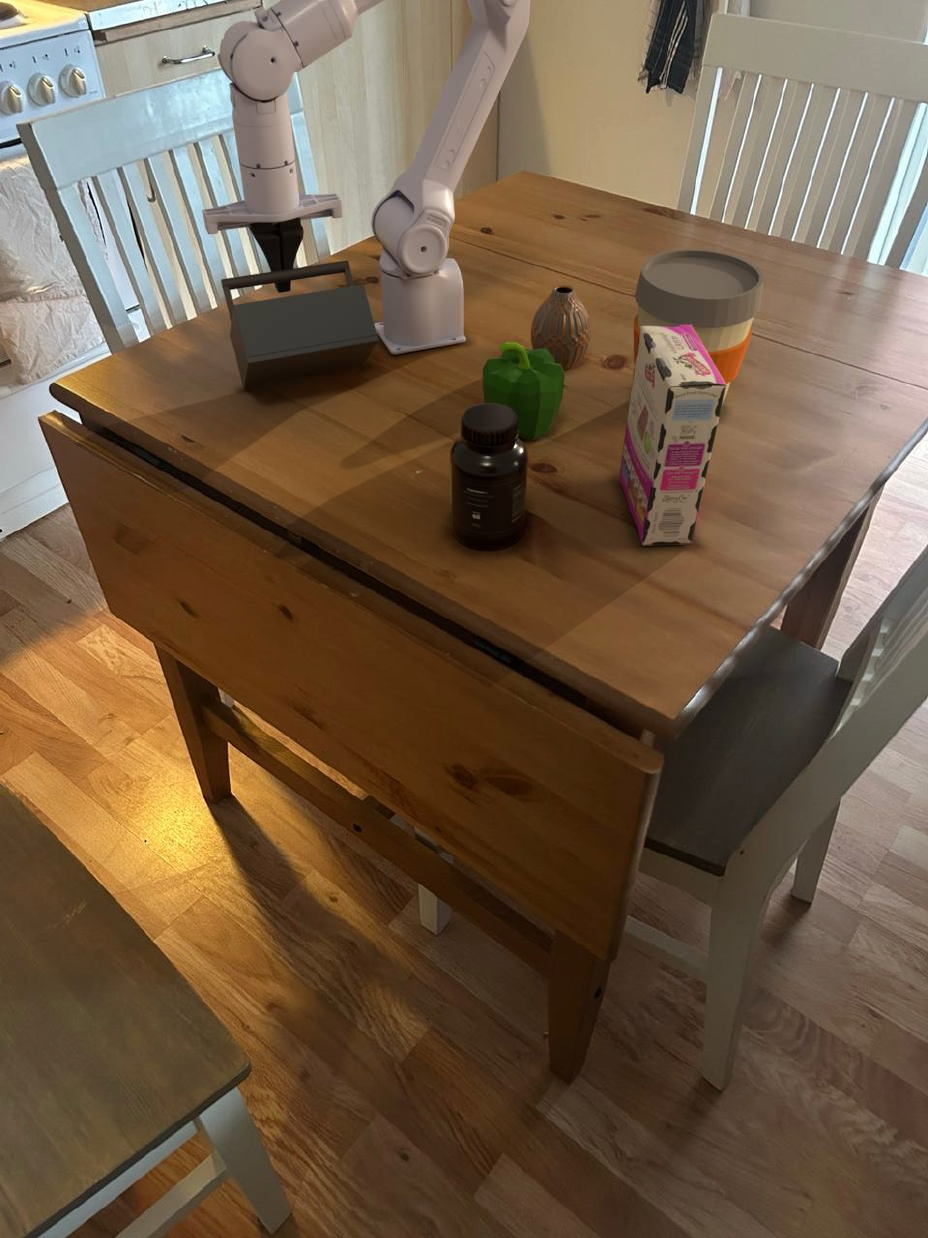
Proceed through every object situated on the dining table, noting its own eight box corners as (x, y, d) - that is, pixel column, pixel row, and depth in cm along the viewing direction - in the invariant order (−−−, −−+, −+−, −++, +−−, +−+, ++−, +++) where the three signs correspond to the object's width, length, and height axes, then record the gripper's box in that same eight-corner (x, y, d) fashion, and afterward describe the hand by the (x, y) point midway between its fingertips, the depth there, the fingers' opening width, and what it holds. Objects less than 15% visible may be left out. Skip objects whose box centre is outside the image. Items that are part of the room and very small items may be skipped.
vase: (584, 378, 110) (591, 305, 104) (525, 372, 111) (528, 299, 105) (590, 350, 115) (597, 279, 109) (533, 344, 116) (537, 273, 110)
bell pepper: (565, 412, 104) (572, 326, 97) (555, 453, 98) (561, 365, 92) (489, 404, 106) (491, 318, 99) (475, 444, 100) (475, 356, 93)
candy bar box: (695, 545, 87) (730, 384, 76) (641, 548, 87) (668, 386, 76) (666, 476, 96) (693, 320, 84) (616, 478, 95) (637, 322, 84)
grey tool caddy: (378, 340, 102) (354, 241, 101) (248, 363, 98) (221, 261, 97) (363, 366, 111) (340, 277, 111) (243, 388, 108) (219, 296, 107)
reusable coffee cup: (715, 448, 99) (744, 311, 89) (603, 417, 104) (618, 283, 93) (751, 394, 107) (781, 262, 97) (645, 367, 112) (664, 239, 101)
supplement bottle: (436, 536, 88) (433, 423, 80) (474, 499, 93) (476, 388, 84) (500, 561, 86) (504, 447, 78) (537, 522, 90) (544, 409, 82)
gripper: (325, 141, 103) (336, 265, 112) (189, 155, 99) (211, 283, 108) (343, 161, 98) (352, 290, 107) (200, 177, 94) (223, 309, 103)
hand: (282, 288), depth 107 cm, fingers closed, pressing on grey tool caddy
